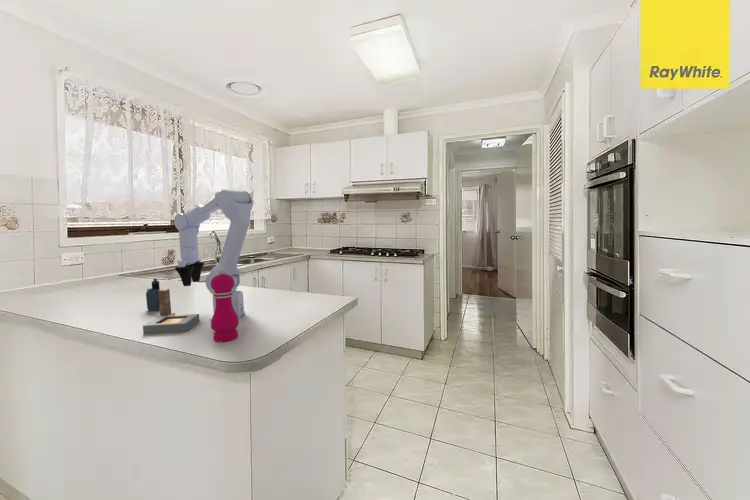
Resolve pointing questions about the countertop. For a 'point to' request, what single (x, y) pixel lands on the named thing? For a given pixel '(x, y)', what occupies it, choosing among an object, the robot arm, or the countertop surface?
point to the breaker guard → (171, 324)
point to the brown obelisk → (164, 302)
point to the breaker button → (173, 320)
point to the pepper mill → (224, 308)
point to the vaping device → (153, 296)
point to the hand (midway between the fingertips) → (191, 283)
